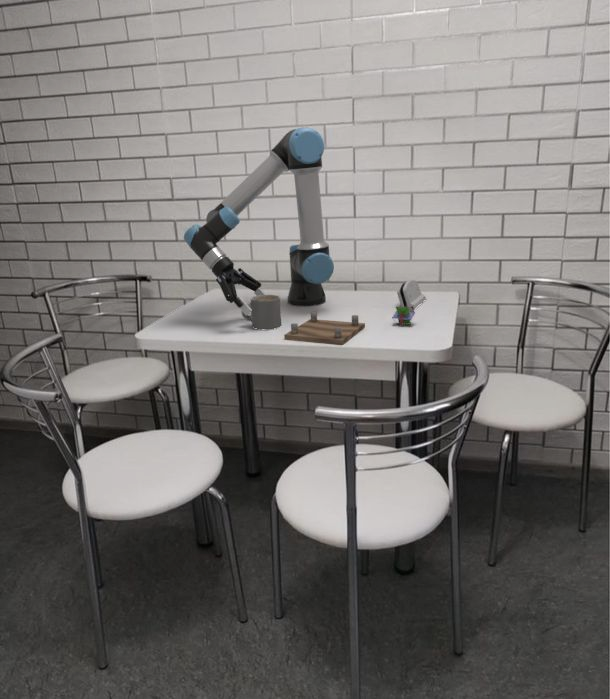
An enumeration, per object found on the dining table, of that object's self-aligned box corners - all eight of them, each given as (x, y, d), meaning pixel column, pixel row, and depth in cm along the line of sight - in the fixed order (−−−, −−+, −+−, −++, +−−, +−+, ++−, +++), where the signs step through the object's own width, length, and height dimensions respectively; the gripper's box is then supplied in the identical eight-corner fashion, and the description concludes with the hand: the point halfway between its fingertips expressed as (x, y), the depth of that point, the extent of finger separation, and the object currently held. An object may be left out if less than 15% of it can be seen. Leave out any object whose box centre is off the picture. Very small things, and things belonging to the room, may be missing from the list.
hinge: (415, 310, 221) (406, 284, 220) (403, 313, 224) (394, 288, 222) (426, 299, 236) (418, 275, 234) (415, 303, 238) (407, 279, 236)
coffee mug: (285, 322, 212) (283, 295, 209) (274, 330, 204) (273, 301, 200) (250, 321, 217) (248, 293, 214) (238, 328, 208) (236, 300, 205)
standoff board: (310, 323, 210) (310, 310, 209) (364, 327, 202) (364, 314, 201) (284, 339, 193) (283, 325, 192) (342, 344, 185) (342, 330, 184)
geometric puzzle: (407, 323, 197) (413, 301, 199) (388, 321, 200) (393, 299, 202) (413, 331, 203) (418, 309, 205) (394, 329, 206) (399, 308, 208)
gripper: (232, 264, 222) (270, 306, 221) (192, 277, 201) (234, 324, 199) (243, 250, 218) (282, 293, 217) (204, 262, 197) (246, 309, 195)
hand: (259, 308), depth 208 cm, fingers open, 13 cm apart
